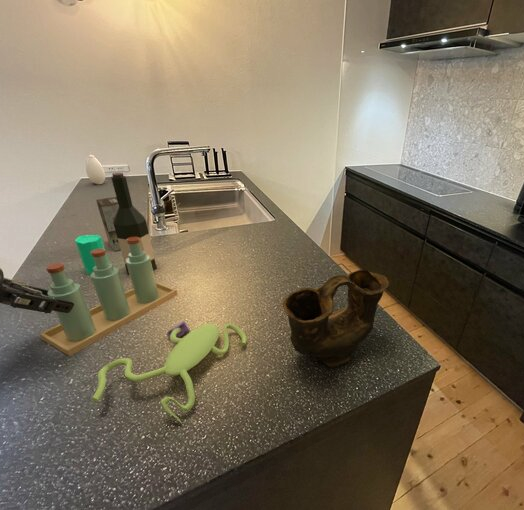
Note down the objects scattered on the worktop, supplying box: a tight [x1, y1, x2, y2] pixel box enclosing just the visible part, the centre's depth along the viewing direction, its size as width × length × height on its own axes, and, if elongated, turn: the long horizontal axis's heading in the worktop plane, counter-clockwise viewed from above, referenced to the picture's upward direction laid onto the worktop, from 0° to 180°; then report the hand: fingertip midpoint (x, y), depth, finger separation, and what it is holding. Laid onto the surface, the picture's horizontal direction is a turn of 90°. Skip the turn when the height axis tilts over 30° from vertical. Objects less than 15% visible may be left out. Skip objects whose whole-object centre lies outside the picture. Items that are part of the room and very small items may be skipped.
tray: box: [39, 281, 179, 357], centre depth 76 cm, size 26×10×2 cm, turn 155°
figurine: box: [91, 320, 248, 423], centre depth 62 cm, size 18×27×6 cm
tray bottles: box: [90, 237, 159, 321], centre depth 75 cm, size 13×5×18 cm, turn 155°
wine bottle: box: [110, 172, 158, 276], centre depth 88 cm, size 8×8×30 cm
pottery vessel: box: [281, 269, 390, 369], centre depth 67 cm, size 25×11×20 cm, turn 127°
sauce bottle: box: [85, 150, 106, 185], centre depth 166 cm, size 8×8×18 cm
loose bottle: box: [45, 262, 96, 341], centre depth 65 cm, size 5×5×18 cm
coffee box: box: [95, 196, 121, 252], centre depth 105 cm, size 9×6×16 cm
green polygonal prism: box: [74, 233, 110, 275], centre depth 91 cm, size 6×6×12 cm
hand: (58, 301), depth 63 cm, fingers open, 8 cm apart
